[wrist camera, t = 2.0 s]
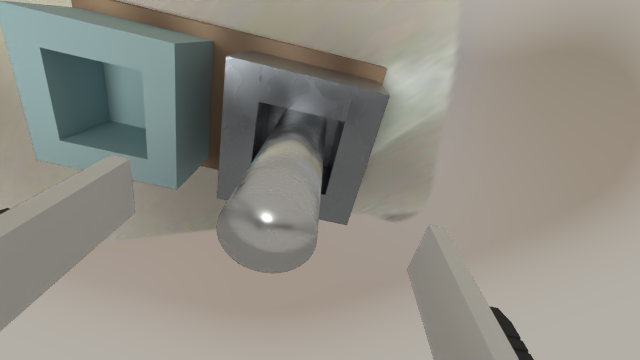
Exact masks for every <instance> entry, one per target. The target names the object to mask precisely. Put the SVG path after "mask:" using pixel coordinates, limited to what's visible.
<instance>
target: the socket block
mask: <svg viewBox="0 0 640 360" xmlns="http://www.w3.org/2000/svg"><path fill="white" fill-rule="evenodd" d="M389 96H390V95H389V94H388V93H387V92H386V91H385V90H384V88H383V87H382V86H381V85H380V84H379V83H378V82H377V80H372V79H368V78H364V77H360V76H356V75H352V74H348V73H344V72H340V71H336V70H331V69H327V68H323V67H319V66H315V65H311V64H307V63H303V62H299V61H294V60H290V59H286V58H282V57H278V56H274V55H270V54H266V53H262V52H257V51H253V50H251V51H246V52H242V53H237V54H232V55H228V56H226V64H225V80H224V95H223V111H222V127H221V143H220V159H219V175H218V191H217V198H220V199H224V200H229V198H230V197H231V195H232V194H233V192H234V191H235V189H236V187H237V186H238V184H239V183H240V181H241V179H242V178H243V176H244V175H245V173H246V171H247V170H248V168H249V167H250V165H251V163H252V162H253V160H254V159H255V157H256V155H257V154H258V152H259V151H260V149H261V148H262V146H263V144H264V143H265V141H266V140H267V138H268V136H269V135H270V133H271V132H272V130H273V128H274V127H275V125H276V124H277V122H278V120H279V119H280V117H281V116H282V114H283V113H284V112H285V111H286V110H288V109H293V110H297V111H301V112H306V113H310V114H314V115H318V116H322V118H323V119H324V122H325V126H326V135H325V148H324V160H323V172H322V184H321V196H320V208H319V219H320V220H325V221H329V222H335V223H339V224H344V225H347V223H348V220H349V217H350V214H351V211H352V208H353V205H354V202H355V199H356V196H357V193H358V190H359V187H360V184H361V181H362V178H363V175H364V172H365V169H366V165H367V162H368V159H369V156H370V153H371V150H372V147H373V144H374V141H375V138H376V135H377V132H378V129H379V126H380V123H381V120H382V117H383V114H384V111H385V108H386V105H387V102H388V99H389Z"/></svg>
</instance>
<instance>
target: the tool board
mask: <svg viewBox="0 0 640 360" xmlns="http://www.w3.org/2000/svg"><path fill="white" fill-rule="evenodd" d="M71 1H72V7H73V8H81V9H85V10H89V11H93V12H97V13H101V14H105V15H110V16H114V17H118V18H122V19H126V20H130V21H134V22H138V23H142V24H147V25H151V26H155V27H159V28H163V29H167V30H171V31H175V32H179V33H184V34H188V35H192V36H196V37H200V38H204V39H208V40H212V41H213V60H212V83H211V107H210V130H209V154H208V159H207V160H206V161H205V162H204V163H203V164H202V165H201V166H204V167H209V168H213V169H218V170H219V159H220V143H221V127H222V111H223V95H224V80H225V64H226V56H228V55H232V54H237V53H242V52H246V51H251V50H253V51H257V52H262V53H266V54H270V55H274V56H278V57H282V58H286V59H290V60H294V61H299V62H303V63H307V64H311V65H315V66H319V67H323V68H327V69H331V70H336V71H340V72H344V73H348V74H352V75H356V76H360V77H364V78H368V79H372V80H377V82H378V83H379V84H380V85H381V86H382V82H383V79H384V76H385V73H386V70H387V69H386V68H385V67H382V66H378V65H374V64H370V63H366V62H362V61H358V60H354V59H350V58H346V57H342V56H338V55H334V54H330V53H326V52H322V51H318V50H314V49H310V48H305V47H301V46H297V45H293V44H289V43H285V42H281V41H277V40H273V39H269V38H265V37H261V36H257V35H253V34H249V33H245V32H241V31H237V30H233V29H229V28H224V27H220V26H216V25H212V24H208V23H204V22H200V21H196V20H192V19H188V18H184V17H180V16H176V15H172V14H168V13H164V12H160V11H156V10H152V9H148V8H143V7H139V6H135V5H131V4H127V3H123V2H119V1H115V0H71Z"/></svg>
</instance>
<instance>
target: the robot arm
mask: <svg viewBox="0 0 640 360" xmlns="http://www.w3.org/2000/svg"><path fill="white" fill-rule="evenodd" d="M134 213H135V206H134V195H133V185H132V174H131V164H130V159H128V158H124V157H119V156H114V155H110V156H108V157H107V158H105V159H103V160H101V161H99V162H97V163H95V164H94V165H92V166H90V167H88V168H86V169H84V170H82V171H80V172H79V173H77V174H75V175H73V176H71V177H69V178H67V179H65V180H64V181H62V182H60V183H58V184H56V185H54V186H52V187H51V188H49V189H47V190H45V191H43V192H41V193H39V194H37V195H36V196H34V197H32V198H30V199H28V200H26V201H24V202H23V203H21V204H19V205H17V206H15V207H13V208H11V209H9V208H6V209H3V210H0V331H1V330H2V329H3V328H4V327H6V326H7V325H8V324H9V323H10V322H11V321H13V320H14V319H15V318H16V317H17V316H18V315H19V314H21V313H22V312H23V311H24V310H25V309H26V308H27V307H28V306H29V305H31V304H32V303H33V302H34V301H35V300H36V299H37V298H39V297H40V296H41V295H42V294H43V293H44V292H45V291H47V290H48V289H49V288H50V287H51V286H52V285H53V284H55V282H57V281H58V280H59V279H60V278H61V277H62V276H64V275H65V274H66V273H67V272H68V271H69V270H70V269H72V268H73V267H74V266H75V265H76V264H77V263H78V262H79V261H81V260H82V259H83V258H84V257H85V256H86V255H87V254H88V253H90V252H91V251H92V250H93V249H94V248H95V247H96V246H98V245H99V244H100V243H101V242H102V241H103V240H104V239H106V238H107V237H108V236H109V235H110V234H111V233H112V232H113V231H115V230H116V229H117V228H118V227H119V226H120V225H121V224H123V223H124V222H125V221H126V220H127V219H128V218H129V217H130V216H132V215H133V214H134ZM407 271H408V274H409V278H410V281H411V285H412V288H413V291H414V294H415V298H416V301H417V305H418V308H419V311H420V315H421V318H422V322H423V325H424V328H425V332H426V335H427V338H428V342H429V345H430V349H431V352H432V355H433V359H434V360H534V359H533V358H532V356H531V354H529V353H528V349H527V348H526V346H525V344H524V343H523V341H521V340H520V336H519V334H518V333H517V331H516V329H515V328H514V326H513V324H512V323H511V322H510V321H509V319H508V318H507V317H506V316H505V315H504V314H503V313H502V312H501V311H500V310H499V309H498V308H494V307H490V306H489V305H488V303H487V301H486V300H485V298H484V296H483V295H482V292H481V291H480V289H479V287H478V285H477V283H476V282H475V280H474V278H473V276H472V275H471V273H470V271H469V269H468V268H467V266H466V264H465V262H464V260H463V258H462V257H461V255H460V253H459V251H458V249H457V248H456V246H455V244H454V243H453V241H452V239H451V237H450V235H449V233H448V232H447V230H446V228H443V227H438V226H433V225H429V226H428V228H427V230H426V232H425V234H424V236H423V238H422V240H421V242H420V244H419V246H418V248H417V250H416V252H415V254H414V256H413V259H412V260H411V263H410V264H409V266H408V268H407Z"/></svg>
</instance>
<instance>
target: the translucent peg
mask: <svg viewBox="0 0 640 360" xmlns="http://www.w3.org/2000/svg"><path fill="white" fill-rule="evenodd" d="M325 135H326V126H325V122H324V119H323V118H322V116H318V115H314V114H310V113H306V112H301V111H297V110H293V109H288V110H286V111H285V112H284V113H283V114H282V116H281V117H280V119H279V120H278V122H277V124H276V125H275V127H274V128H273V130H272V132H271V133H270V135H269V136H268V138H267V140H266V141H265V143H264V144H263V146H262V148H261V149H260V151H259V152H258V154H257V155H256V157H255V159H254V160H253V162H252V163H251V165H250V167H249V168H248V170H247V171H246V173H245V175H244V176H243V178H242V179H241V181H240V183H239V184H238V186H237V187H236V189H235V191H234V192H233V194H232V195H231V197H230V198H229V200H228V202H227V203H226V205H225V206H224V208H223V210H222V211H221V213H220V215H219V218H218V221H217V235H218V239H219V242H220V243H221V246H222V247H223V249H224V250H225V252H226V253H227V254H228V255H229V256H230V257H231V258H232V259H233V260H235V261H236V262H237V263H239V264H241V265H242V266H244V267H247V268H249V269H252V270H255V271H259V272H264V273H281V272H287V271H290V270H293V269H295V268H297V267H299V266H301V265H302V264H304V263H305V262H306V261H307V260H308V259H309V258H310V257H311V255H312V254H313V252H314V250H315V247H316V242H317V233H318V220H319V208H320V196H321V184H322V172H323V160H324V148H325Z"/></svg>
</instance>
